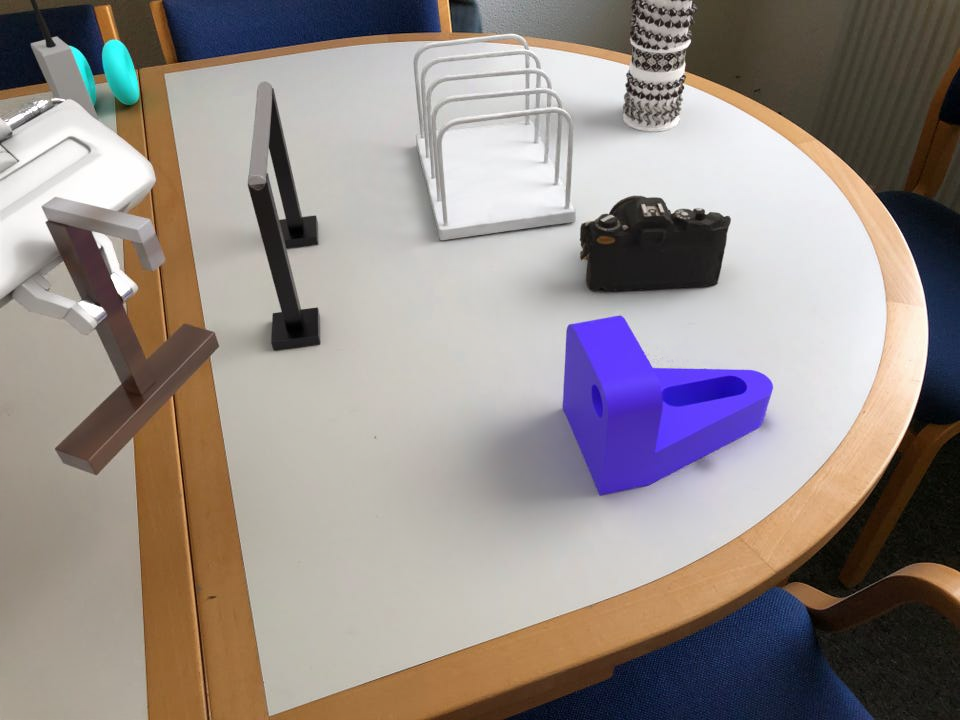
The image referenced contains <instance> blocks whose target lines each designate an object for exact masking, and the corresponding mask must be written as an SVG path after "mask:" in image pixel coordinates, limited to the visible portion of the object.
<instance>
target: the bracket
mask: <svg viewBox="0 0 960 720" xmlns="http://www.w3.org/2000/svg"><path fill="white" fill-rule="evenodd" d="M565 333H566V334H565V349H564V351H565V354H564V373H563V389H562V390H563V394H562V411H563V412H564V415H565V417H566V419H567V421H568V424H569V426H570V429H571V431H572V433H573V436H574V439H575V441H576V443H577V445H578V447H579V451H580V453H581V455H582V457H583V460H584V461H585V464H586V466H587V469H588V472H589V473H590V476H591V478H592V481H593V483H594V486H595V488H596V491H597V492H598V495H599V496H603V495H608V494H613V493H618V492H622V491H627V490H632V489H636V488H642V487H646V486H650V485H652V484H654V483H656V482H658V481H660V480H662V479H664V478H665V477H668V476H670V475H672V474H674V473H675V472H677V471H679V470H681V469H683V468H685V467H686V466H687V467H688V466H689V465H690V464H692V463H694V462H696V461H698V460H700V459H702V458H704V457H706V456H708V455H709V454H711V453H714V452H716V451H717V450H719V449H721V448H723V447H726V446H727V445H729V444H730V443H732V442H735V441H736V440H738V439H740V438H742V437H744V436H746V435H748V434H750V433H751V432H754V431H756V430H758V429H759V428H760V427H761V426H762V425H763V423H764V420H765V417H766V413H767V411H768V407H769V403H770V400H771V397H772V394H773V390H774V385H773V382H772V380H771V378H769V376H768V375H765V374H764V373H762V372H760V371H757V370H754V369H731V368H729V369H728V368H727V369H725V368H682V367H681V368H678V367H677V368H675V367H673V368H672V367H653V366H652V364H651V361H649V359H648V356H647V355H646V353H645V352H644V350H643V348H642V346H641V345H640V343H639V341H638V339H637V338H636V335H635V334H634V332H633V331H632V329H631V327H630V325H629V324H628V322H627V320H626V319H625V317H624V316H623V315H614V316H608V317H602V318H597V319H591V320H586V321H581V322H580V321H579V322H575V323H570V324H568V325H567V327H566V332H565Z"/></svg>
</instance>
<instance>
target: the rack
mask: <svg viewBox="0 0 960 720" xmlns="http://www.w3.org/2000/svg"><path fill="white" fill-rule="evenodd" d="M254 111H255V112H254V122H253V132H252V140H251V149H250V150H251V151H250V158H249V160H250V161H249V171H248V177H247V189H248V192H249V196H250V199H251V204H252V206H253V207H252V208H253V210H254V214H255V218H256V222H257V225H258V229H259V234H260V236H261V237H260V238H261V240H262V244H263V247H264V252H265V255H266V259H267V263H268V266H269V270H270V274H271V278H272V281H273V285H274V289H275V293H276V296H277V300H278V304H279V308H280V311H279V312H273V313H272V314H271V315H272V316H271V317H272V318H271V335H270V336H271V338H270V344H271V347H272V350H273V351H280V350H289V349H295V348H302V347H311V346H317V345H321V316H320V310H319V307H309V308H302V307H301V303H300V299H299V294H298V290H297V287H296V282H295V279H294V275H293V270H292V266H291V263H290V262H291V261H290V258H289V255H288V249H292V248H300V247H309V246H317V245H319V222H318V218H317V215H307V216H303V214H302V210H301V205H300V201H299V196H298V192H297V187H296V182H295V179H294V174H293V168H292V166H291V161H290V156H289V150H288V147H287V143H286V138H285V133H284V129H283V124H282V120H281V115H280V111H279V107H278V102H277V97H276V93H275V89H274V88H273V86H272V84H271V83H270V82H268V81H262V82H259V84H258V85H257V90H256V103H255V110H254ZM269 155H270V157H271V162H272V167H273V172H274V176H275V179H276V184H277V187H278V193H279V196H280V200H281V205H282V208H283V213H284V217H285V218H283V219H280V217H279V214H278V210H277V206H276V202H275V197H274V193H273V188H272V184H271V181H270V177H269V174H268V164H269Z"/></svg>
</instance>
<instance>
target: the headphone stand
mask: <svg viewBox="0 0 960 720" xmlns="http://www.w3.org/2000/svg"><path fill="white" fill-rule="evenodd" d="M41 207H42V209H43V211H44V214H45V216H46V218H47V220H48V221H46V222H45V223H46V225H47V227H48V229H49V231H50V234H51V236H52V238H53V240H54V242H55V244H56V246H57V248H58V251H59V253H60V255H61V257H62V259H63V263H64V265H65V267H66V270H67V272H68V274H69V276H70V278H71V280H72V282H73V285H74V286H75V289H76V291H77V292H78V295H79V297H80V299H81V300H82V299H83V298H84V297H86V296H87V295H88V296H89V297H90V298H91V299H92V300H94V301H95V302H96V305H97V306H99V307H102V308H103V309H104V310H105V311H106V313H107V317H106V318H105V320H104V321H103V322H102V323H101V324H100V325H99V326H98V327H96V328H95V329H94V330H95V331H96V333H97V335H98V338H99V339H100V341H101V344H102V346H103V348H104V350H105V352H106V355H107V357H108V358H109V361H110V363H111V365H112V367H113V369H114V372H115V373H116V375H117V378H118V380H119V382H120V384H119V385H118V387H117V388H115V389H114V391H112V392H111V394H110V395H108V396H107V397H106V398H105V399H104V400H103V401H102V402H101V403H100V404H98V406H97V407H96V408H94V410H93V411H92V412H90V414H88V415H87V417H85V418H84V419H83V420H82V422H81V423H79V424H78V425H77V426H76V427H75V428H74V429H73V430H72V431H71V432H70V433H69V434H68V435H67V436H66V437H65V438H63V440H62V441H61V442H60V443H58V445H57V446H56V447H55V448H54V450H55V452H56V454H57V456H58V457H59V459H60V460H61V462H62V464H63V465H67V466H69V467H72V468H75V469H77V470H80V471H83V472H86V473H89V474H92V475H94V476H98V475H99V474H100V473H101V472H102V471H103V470H104V468H106V466H107V465H108V464H109V463H110V462H111V461H112V460H113V459H114V458H115V457H116V456H117V455H118V454H119V453H120V452H121V451H122V450H123V449H124V447H126V445H127V444H129V443H130V441H131V440H132V439H133V438H134V437H135V436H136V435H137V434H138V433H139V432H140V431H141V430H142V429H143V428H144V427H145V426H146V425H147V424H148V422H149V421H151V419H152V418H154V416H155V415H156V414H157V413H158V412H159V411H160V410H161V409H162V408H163V407H164V406H165V404H167V402H168V401H170V399H171V398H172V397H173V396H174V395H175V394H176V393H177V392H178V391H179V390H180V389H181V388H182V387H183V386H184V384H186V383H187V381H189V379H191V377H192V376H193V375H194V374H195V373H197V371H198V370H199V369H200V368H201V367H202V366H203V365H204V364H205V363H206V362H207V361H208V360H209V358H210V357H211V356H212V355H213V354H214V353H215V352H216V351H217V350H218V349H219V348H220V344H219V340H218V338H217V335H216V332H215V331H213V330H209V329H205V328H202V327H198V326H196V325H192V324H188V323H183V324H182V325H181V326H179V327H178V328H177V329H176V330H175V331H174V332H173V333H172V334H171V335H170V336H169V337H168V338H167V339H166V340H165V341H164V342H163V343H162V344H161V345H160V346H159V347H158V348H157V349H156V350H155V351H154V352H152V353H151V355H150V356H148V357H146V355H145V353H144V350H143V348H142V345H141V343H140V340H139V339H138V337H137V336H138V335H137V334H136V331H135V329H134V327H133V324H132V322H131V320H130V317H129V315H128V313H127V310H126V308H125V305H124V304H123V303H122V301H121V299H120V297H119V294H118V292H117V289H116V287H115V285H114V282H113V280H112V278H111V275H110V273H109V271H108V268H107V266H106V264H105V261H104V259H103V257H102V254H101V252H100V250H99V247H98V245H97V243H96V240H95V238H94V236H93V233H92V231H93V232H97V233H101V234H104V235H105V236H109V237H113V238H118V239H122V240H126V241H130V242H132V245H133V248H134V250H135V252H136V255H137V258H138V260H139V263H140V266H141V268H142V270H145V271H148V272H155V271H156V270H157V269H159V267H160V266H162V265H163V264H164V263H165V262H166V258H165V255H164V252H163V249H162V247H161V244H160V241H159V238H158V236H157V235H158V234H157V233H156V230H155V227H154V225H153V222H152V220H151V218H147V217H143V216H138V215H135V214H130V213H128V212H127V213H122V212H118V211H114V210H110V209H106V208H101V207H97V206H93V205H89V204H84V203H80V202H76V201H72V200H68V199H63V198H59V197H54V198H53V199H51V200H50V201H48V202H47V203H45V204H44V205H42V206H41Z"/></svg>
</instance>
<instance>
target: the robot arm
mask: <svg viewBox="0 0 960 720" xmlns="http://www.w3.org/2000/svg"><path fill="white" fill-rule="evenodd" d="M55 104H56V105H55ZM57 104H58V105H57ZM156 182H157V177H156V174H155V169H154V166H153V165H152V163H151V161H149V160H148V159H147V158H146V157H145V156H144V155H143V154H142V153H140V152H139V151H138V150H137V149H136V148H135V147H134V146H132V145H131V144H130V143H129V142H127V141H126V140H125V139H124V138H122V137H121V136H119V135H118V133H116V132H115V131H113V130H112V129H110V128H109V127H108V126H106V124H103V123H102V122H101V121H100V120H99V121H98V120H96V119H95V118H93V117H92V116H91V115H90V114H89V113H88V112H87V111H86V110H85V109H84V108H83V107H82V106H81V105H79V104H78V103H77V102H75V101H73V100H71V99H64V98H56V97H55V98H54V97H50V96H48V95H41V96H37V97H35V98H33V99H32V100H29V102H27V104H26V105H24V106H22V107H19V108H17V109H15V110H12V111H10V112H7V113H6V114H5V115H3V116H0V310H2V308H4V307H5V306H6V305H8V304H9V303H10V302H12V301H13V300H15V301H16V302H17V303H18V304H19V305H21V306H22V307H23V308H24V309H25V310H26V311H28V312H30V313H34V314H38V315H41V316H45V317H46V316H47V317H49V318H54V319H58V320H64V321H65V322H67V323H68V324H69V325H70V326H72V328H74V329H75V330H76V331H78V332H79V334H81V335H83V336H89V335H90V334H91V333H92V332H94V330H96V329H95V328H96V327H98V326H99V325H100V324H101V323H102V322H103V321H104V320H105V318H106V317H107V313H106V311H105V310H104V309H103V308H102V307H99V306H97V305H96V302H95V301H94V300H92V299H91V298H90V297H89V296H88V295H87V296H86V297H84V298H83V299H81V300H79V301H78V300H75V299H73V298H69V297H66V296H63V295H60V294H58V293H54V292H50V290H51V288H52V283H51V282H50V281H49V280H48V279H46V277H45V276H46V275H48V273H50V272H52V270H54V269H55V268H57V267H58V266H59V265H61V263H62V264H63V263H64V261H63V259H62V257H61V255H60V253H59V251H58V248H57V246H56V244H55V242H54V240H53V238H52V236H51V234H50V231H49V229H48V227H47V225H46V223H45V222H46V221H48V220H47V218H46V216H45V214H44V211H43V209H42V207H41V206H42V205H44V204H45V203H47V202H48V201H50V200H51V199H53V198H54V197H59V198H63V199H68V200H72V201H76V202H80V203H84V204H89V205H93V206H97V207H101V208H106V209H110V210H114V211H118V212H122V213H127V214H128V213H129V212H130V211H132V209H134V208H135V207H137V206H138V205H139V204H141V203H142V202H143V201H144V200H145V198H146V197H147V196H148V194H149V193H150V192H151V190H152V189H153V187H154V186H155V184H156ZM92 233H93V236H94V238H95V240H96V243H97V245H98V247H99V250H100V252H101V254H102V257H103V259H104V261H105V264H106V266H107V268H108V271H109V273H110V275H111V278H112V280H113V282H114V285H115V287H116V289H117V292H118V294H119V297H120V299H121V301H122V303H123V305H124V304H125V303H127V302H128V301H129V300H130V299H131V298H133V297H134V295H135V294H136V293H137V292H138V290H139V287H138V285H137V283H136V282H135V281H134V280H132V279H131V278H130V277H129V276H128V275H127V274H126V273H125V272H124V271H123V270H121V265H120V263H119V260H118V256H117V254H116V251H115V248H114V245H113V243H112V240H111V239H110V238H109V237H108V235H105V234H101V233H97V232H93V231H92Z"/></svg>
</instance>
